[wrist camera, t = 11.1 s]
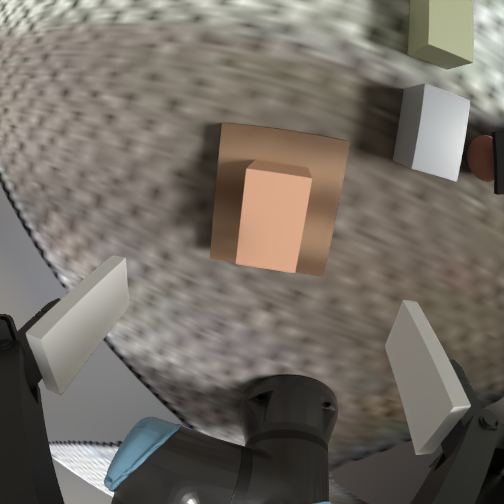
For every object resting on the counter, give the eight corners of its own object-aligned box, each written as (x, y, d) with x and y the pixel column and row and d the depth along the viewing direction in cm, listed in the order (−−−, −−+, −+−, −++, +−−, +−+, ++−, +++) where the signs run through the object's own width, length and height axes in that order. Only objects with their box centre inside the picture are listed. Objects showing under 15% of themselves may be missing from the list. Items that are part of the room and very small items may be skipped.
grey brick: (432, 171, 30) (456, 181, 24) (392, 160, 30) (411, 168, 25) (443, 102, 27) (470, 100, 21) (403, 88, 27) (425, 83, 21)
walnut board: (320, 264, 36) (322, 276, 33) (216, 247, 36) (209, 258, 34) (344, 140, 30) (349, 141, 27) (228, 122, 31) (222, 122, 28)
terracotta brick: (294, 246, 32) (294, 273, 26) (245, 238, 32) (235, 263, 27) (308, 167, 29) (312, 178, 23) (255, 159, 29) (246, 168, 24)
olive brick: (446, 69, 25) (473, 62, 20) (406, 55, 25) (428, 44, 20) (448, 10, 22) (472, -4, 16) (409, -5, 22) (428, -24, 17)
